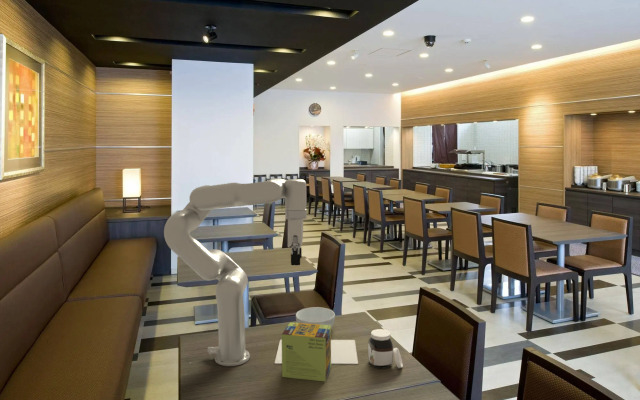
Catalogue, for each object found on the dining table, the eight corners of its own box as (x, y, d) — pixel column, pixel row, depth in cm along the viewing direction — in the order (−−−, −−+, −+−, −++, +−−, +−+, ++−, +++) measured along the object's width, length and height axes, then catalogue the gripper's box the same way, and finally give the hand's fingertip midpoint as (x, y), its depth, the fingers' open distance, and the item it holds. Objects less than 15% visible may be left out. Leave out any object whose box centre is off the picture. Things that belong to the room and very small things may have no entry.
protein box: (326, 382, 152) (326, 337, 150) (281, 377, 156) (280, 334, 153) (331, 366, 163) (331, 324, 160) (289, 362, 166) (289, 321, 163)
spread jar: (365, 358, 169) (365, 328, 168) (394, 355, 172) (394, 325, 170) (377, 374, 158) (377, 342, 156) (407, 370, 160) (408, 338, 159)
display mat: (274, 363, 165) (274, 363, 165) (280, 340, 185) (280, 339, 185) (358, 364, 165) (358, 363, 165) (354, 340, 185) (354, 339, 185)
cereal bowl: (293, 323, 203) (293, 308, 202) (330, 320, 206) (330, 305, 205) (298, 339, 186) (298, 322, 185) (339, 336, 189) (339, 319, 188)
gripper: (287, 210, 171) (287, 255, 173) (283, 218, 154) (283, 268, 156) (307, 210, 171) (307, 255, 173) (305, 218, 154) (305, 267, 156)
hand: (296, 261), depth 165 cm, fingers open, 9 cm apart
